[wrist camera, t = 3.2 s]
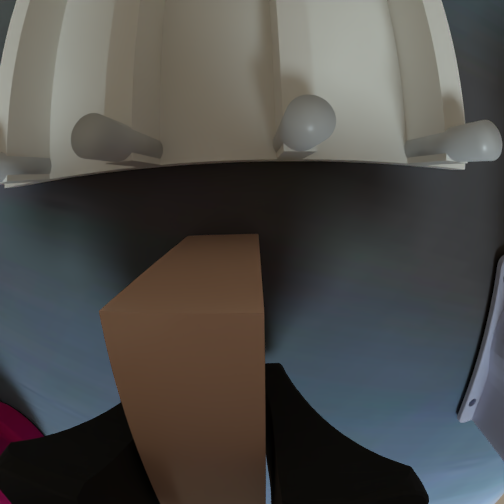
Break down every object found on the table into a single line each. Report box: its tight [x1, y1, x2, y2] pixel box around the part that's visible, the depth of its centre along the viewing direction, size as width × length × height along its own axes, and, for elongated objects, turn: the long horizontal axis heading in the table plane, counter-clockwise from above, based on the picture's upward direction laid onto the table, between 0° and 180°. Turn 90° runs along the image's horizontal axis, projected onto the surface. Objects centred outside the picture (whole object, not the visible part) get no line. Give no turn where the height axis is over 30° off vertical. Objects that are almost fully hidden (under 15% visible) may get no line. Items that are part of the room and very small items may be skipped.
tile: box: [99, 234, 266, 504], centre depth 9 cm, size 10×2×7 cm, turn 2°
